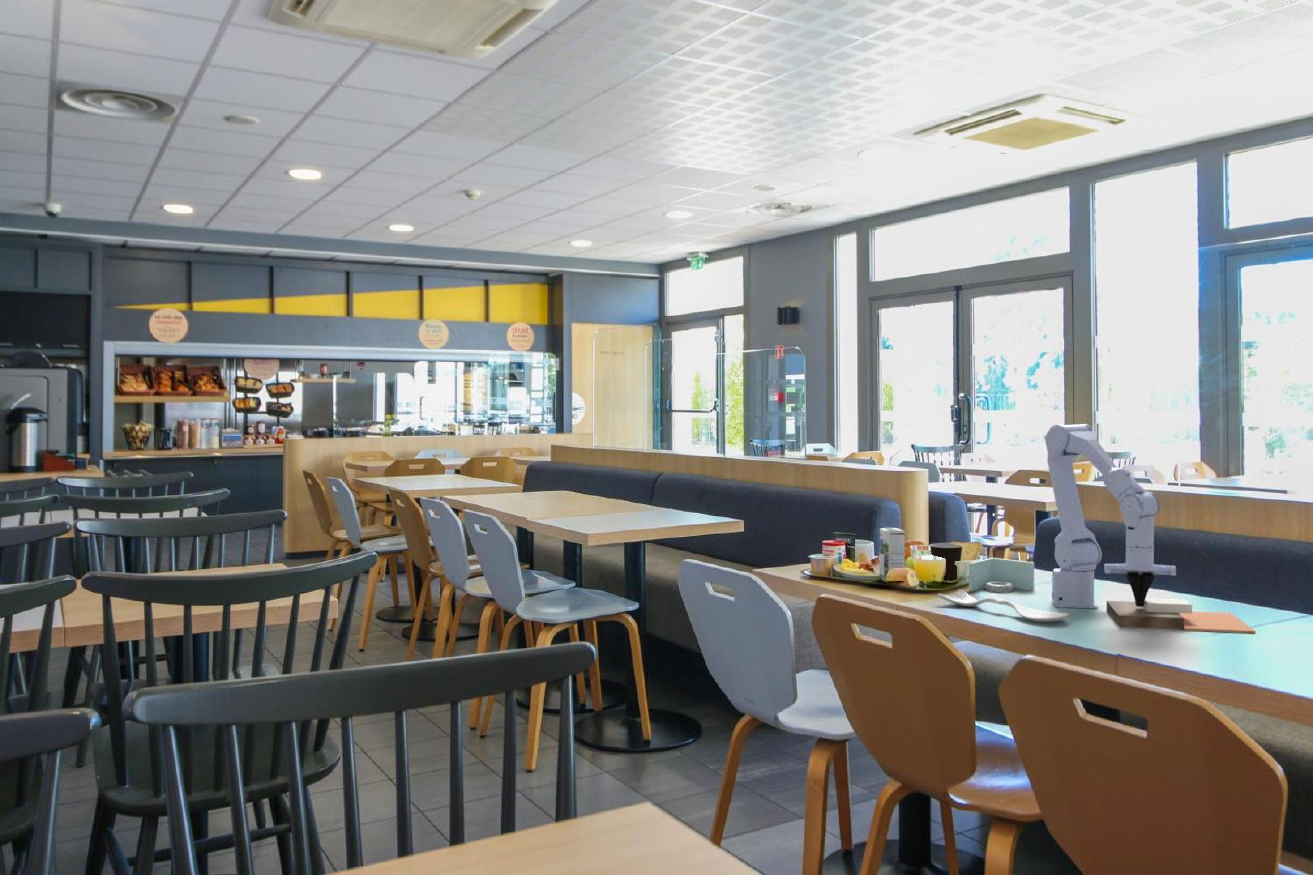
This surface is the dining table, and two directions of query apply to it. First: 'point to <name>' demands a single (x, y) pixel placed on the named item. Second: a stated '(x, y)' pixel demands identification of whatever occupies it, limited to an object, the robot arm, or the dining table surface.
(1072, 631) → the dining table surface
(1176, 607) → the tile
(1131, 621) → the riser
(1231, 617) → the mat
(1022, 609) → the fork
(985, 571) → the right angle wall
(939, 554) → the coffee mug
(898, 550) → the syrup box
